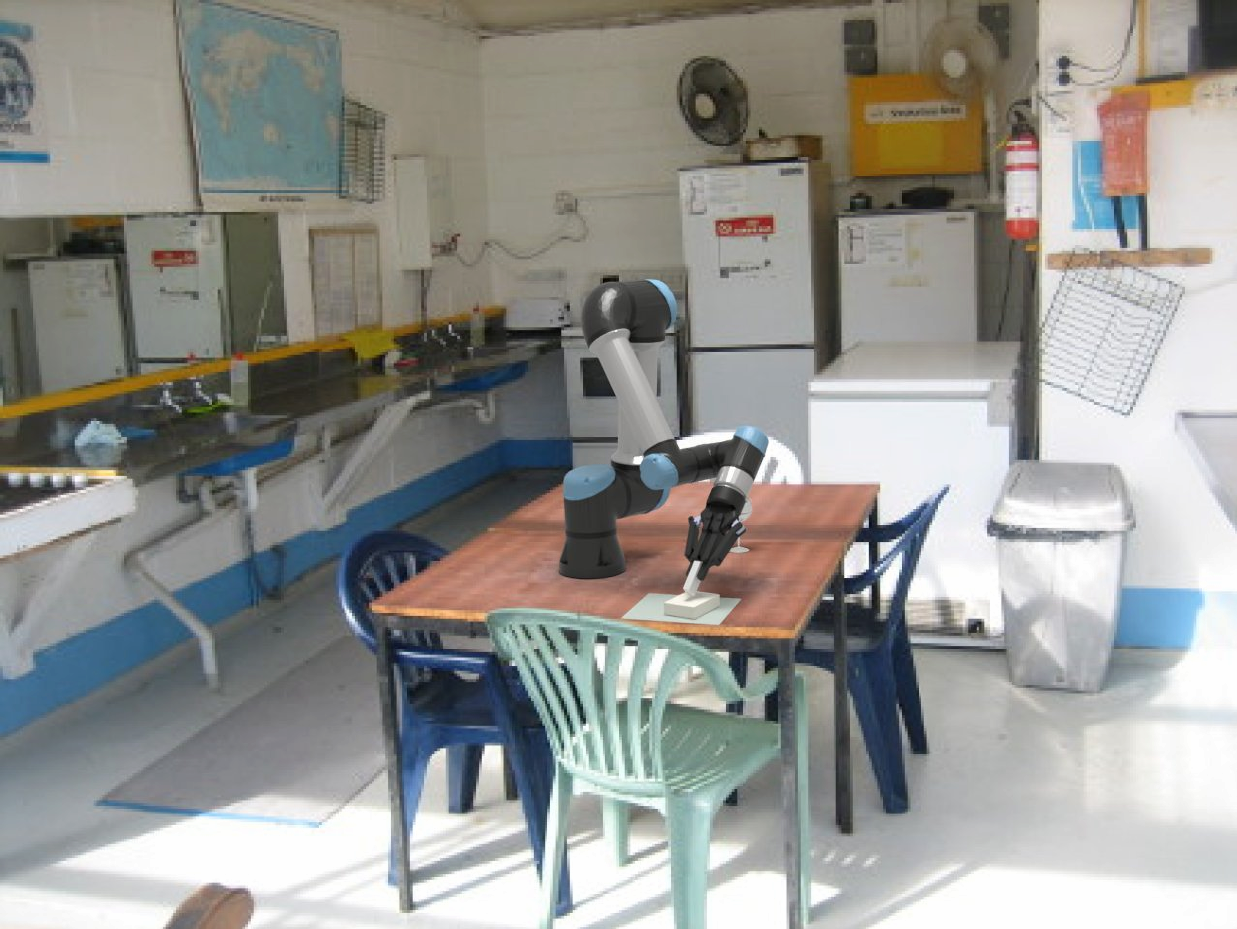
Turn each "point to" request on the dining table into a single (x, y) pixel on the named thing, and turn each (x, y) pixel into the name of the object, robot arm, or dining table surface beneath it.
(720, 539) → the robot arm
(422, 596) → the dining table surface
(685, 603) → the box
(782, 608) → the dining table surface
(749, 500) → the wineglass
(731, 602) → the mat
